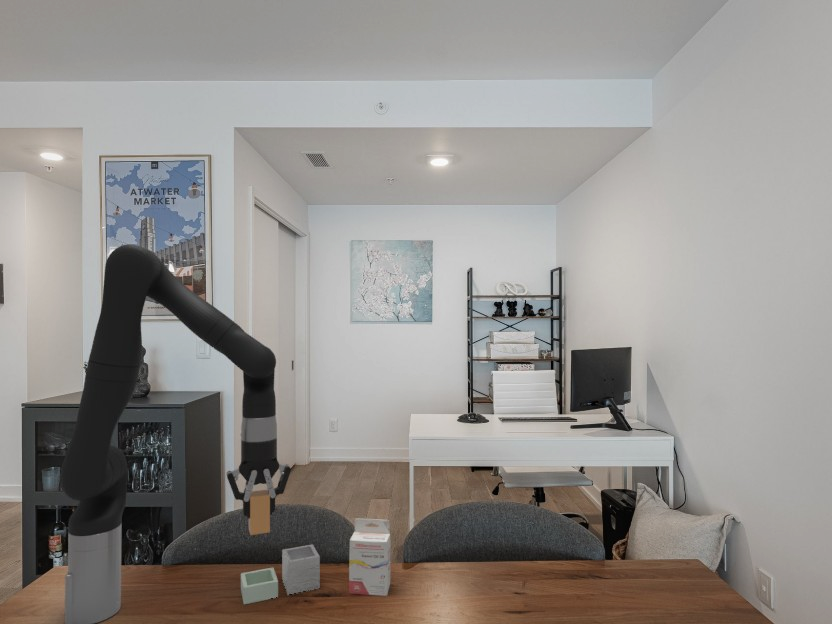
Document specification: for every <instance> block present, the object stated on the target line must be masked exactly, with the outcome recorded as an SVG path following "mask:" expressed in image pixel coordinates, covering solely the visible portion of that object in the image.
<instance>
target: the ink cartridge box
mask: <svg viewBox="0 0 832 624" xmlns="http://www.w3.org/2000/svg"><path fill="white" fill-rule="evenodd" d="M390 523H391V522H390V520H389V519H377V518H375V519H374V518H357V517H356V518H354V532H353V533H352V536H351V537H350V539H349V553H348V554H349V558H348V559H349V562H348V563H349V565H348V567H349V569H348V585H349V586H348V594H350V595H351V594H352V595H366V596H367V595H368V596H381V597H382V596H383V597H384V596H385V597H386V596H388V594H389V590H390V586H391V533H390ZM370 524H373V525H377V526H367V525H370Z"/></svg>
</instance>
